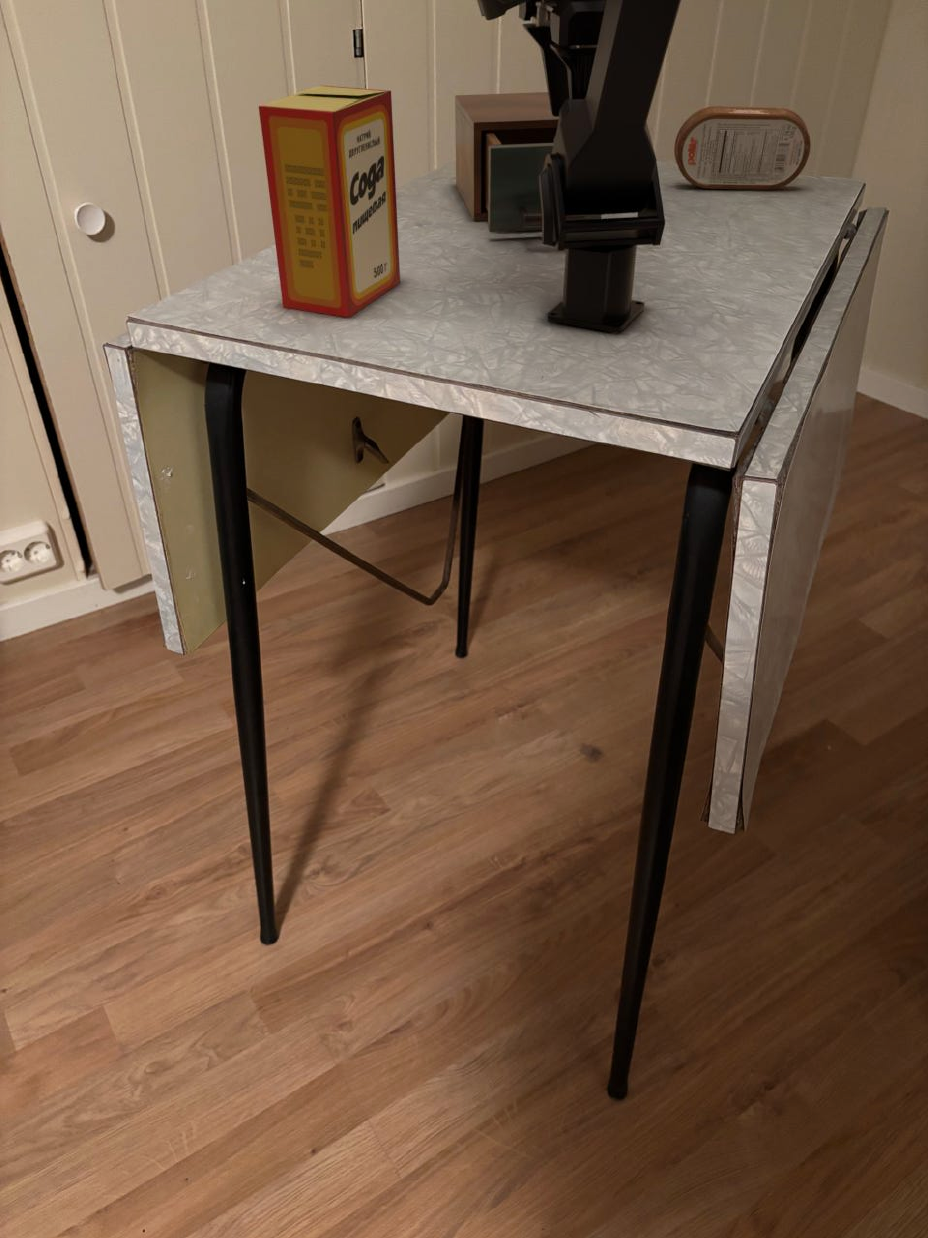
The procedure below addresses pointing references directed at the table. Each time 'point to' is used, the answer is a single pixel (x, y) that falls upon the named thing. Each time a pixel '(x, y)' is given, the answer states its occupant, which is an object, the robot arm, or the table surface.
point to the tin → (742, 147)
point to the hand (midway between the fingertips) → (568, 126)
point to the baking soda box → (332, 197)
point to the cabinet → (491, 115)
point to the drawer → (515, 177)
